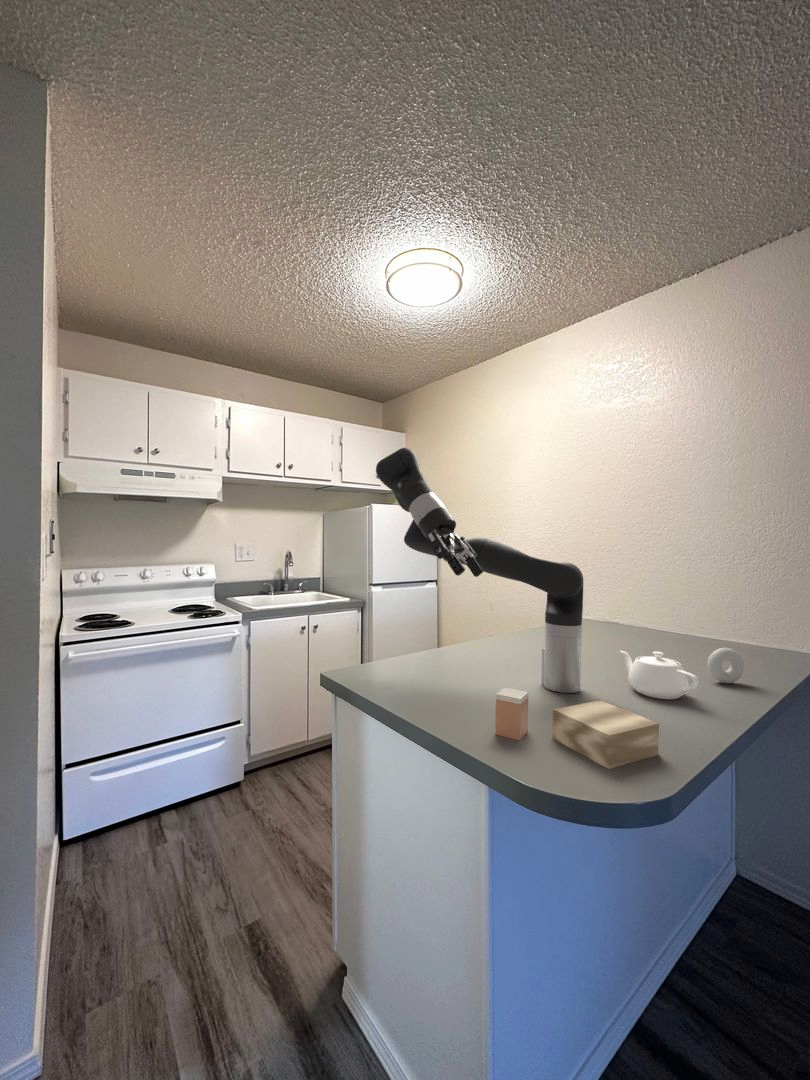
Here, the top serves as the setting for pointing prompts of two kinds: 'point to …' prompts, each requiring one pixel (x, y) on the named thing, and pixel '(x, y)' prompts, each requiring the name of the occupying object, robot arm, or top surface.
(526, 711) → the cube
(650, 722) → the pine box
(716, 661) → the donut
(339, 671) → the top surface
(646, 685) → the teapot
